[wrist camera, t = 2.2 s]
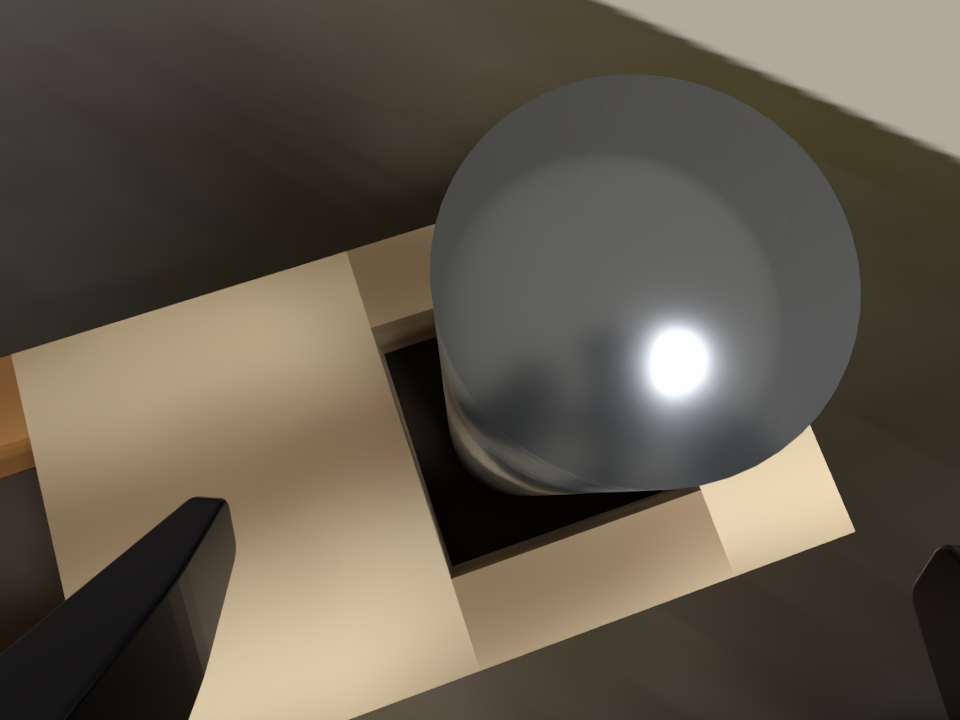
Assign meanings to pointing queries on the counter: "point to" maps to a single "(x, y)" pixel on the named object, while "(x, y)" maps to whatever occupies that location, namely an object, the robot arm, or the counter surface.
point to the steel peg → (637, 291)
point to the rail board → (348, 493)
